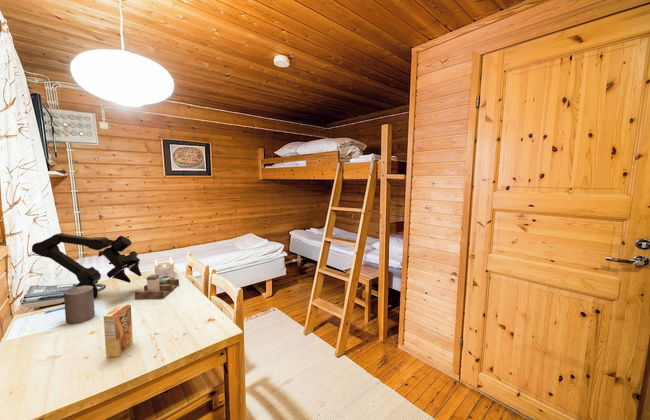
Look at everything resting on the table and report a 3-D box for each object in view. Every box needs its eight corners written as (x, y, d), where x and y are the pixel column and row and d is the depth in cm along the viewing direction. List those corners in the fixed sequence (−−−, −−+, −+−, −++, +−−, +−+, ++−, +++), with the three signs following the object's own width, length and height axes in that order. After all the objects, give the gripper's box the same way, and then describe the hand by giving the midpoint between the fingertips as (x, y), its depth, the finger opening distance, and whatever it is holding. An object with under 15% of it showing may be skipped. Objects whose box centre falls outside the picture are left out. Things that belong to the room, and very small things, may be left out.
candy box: (122, 342, 103) (119, 304, 101) (133, 342, 103) (131, 304, 101) (105, 357, 94) (102, 316, 92) (118, 357, 94) (115, 315, 93)
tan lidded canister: (155, 295, 143) (154, 277, 142) (147, 295, 143) (146, 277, 142) (159, 292, 147) (159, 274, 146) (152, 292, 147) (151, 274, 146)
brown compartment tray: (134, 299, 140) (134, 290, 139) (154, 286, 158) (154, 277, 158) (162, 299, 141) (162, 289, 140) (179, 285, 159) (178, 277, 159)
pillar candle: (62, 320, 118) (58, 288, 116) (89, 311, 127) (86, 281, 125) (71, 326, 114) (68, 293, 112) (99, 316, 122) (97, 285, 120)
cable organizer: (155, 275, 176) (154, 258, 175) (173, 272, 182) (172, 256, 181) (155, 282, 163) (154, 264, 162) (175, 279, 169) (174, 261, 168)
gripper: (114, 252, 132) (136, 275, 135) (137, 243, 151) (156, 264, 153) (96, 266, 133) (119, 289, 135) (122, 255, 151) (141, 276, 153)
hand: (135, 278), depth 144 cm, fingers open, 9 cm apart
